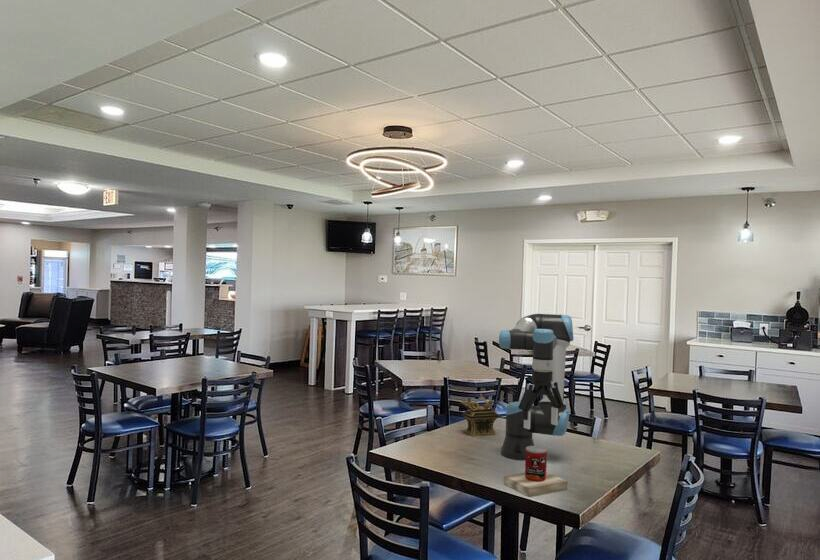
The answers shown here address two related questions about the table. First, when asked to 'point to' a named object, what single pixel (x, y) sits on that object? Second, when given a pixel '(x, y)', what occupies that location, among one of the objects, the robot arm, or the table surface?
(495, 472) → the table surface
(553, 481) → the pale wooden plank
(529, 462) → the canned food
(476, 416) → the decorative box
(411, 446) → the table surface
